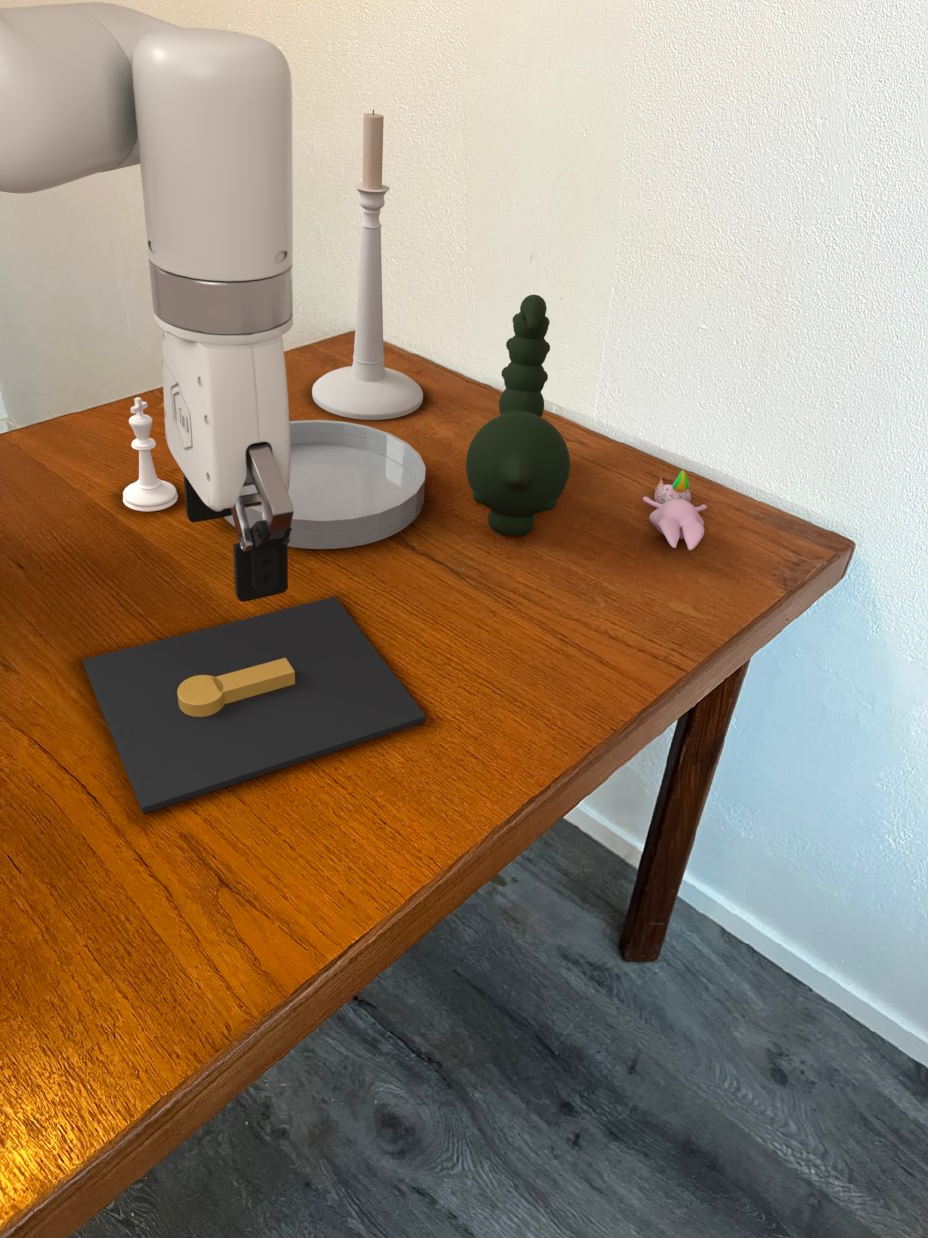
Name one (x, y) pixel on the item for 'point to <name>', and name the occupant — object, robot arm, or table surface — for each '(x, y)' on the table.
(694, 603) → the table surface
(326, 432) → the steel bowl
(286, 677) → the brass key
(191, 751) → the felt mat
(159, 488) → the chess piece
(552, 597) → the table surface
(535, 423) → the toy figurine
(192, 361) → the robot arm
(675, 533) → the pink stuffed animal
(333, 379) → the candlestick
